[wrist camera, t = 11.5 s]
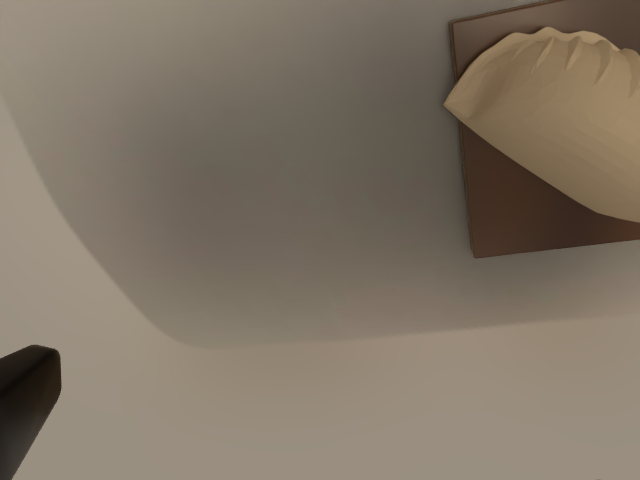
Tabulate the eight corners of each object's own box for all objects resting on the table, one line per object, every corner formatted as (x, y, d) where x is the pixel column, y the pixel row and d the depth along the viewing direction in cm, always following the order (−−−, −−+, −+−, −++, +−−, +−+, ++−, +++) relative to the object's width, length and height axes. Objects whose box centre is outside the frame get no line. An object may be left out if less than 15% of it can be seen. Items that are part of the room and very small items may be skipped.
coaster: (471, 249, 19) (474, 259, 19) (448, 21, 16) (450, 22, 15) (713, 220, 18) (727, 230, 17) (742, -42, 14) (760, -44, 14)
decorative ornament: (531, -20, 15) (594, -24, 10) (742, 149, 16) (892, 218, 11) (438, 100, 16) (453, 146, 12) (634, 244, 17) (722, 340, 13)
